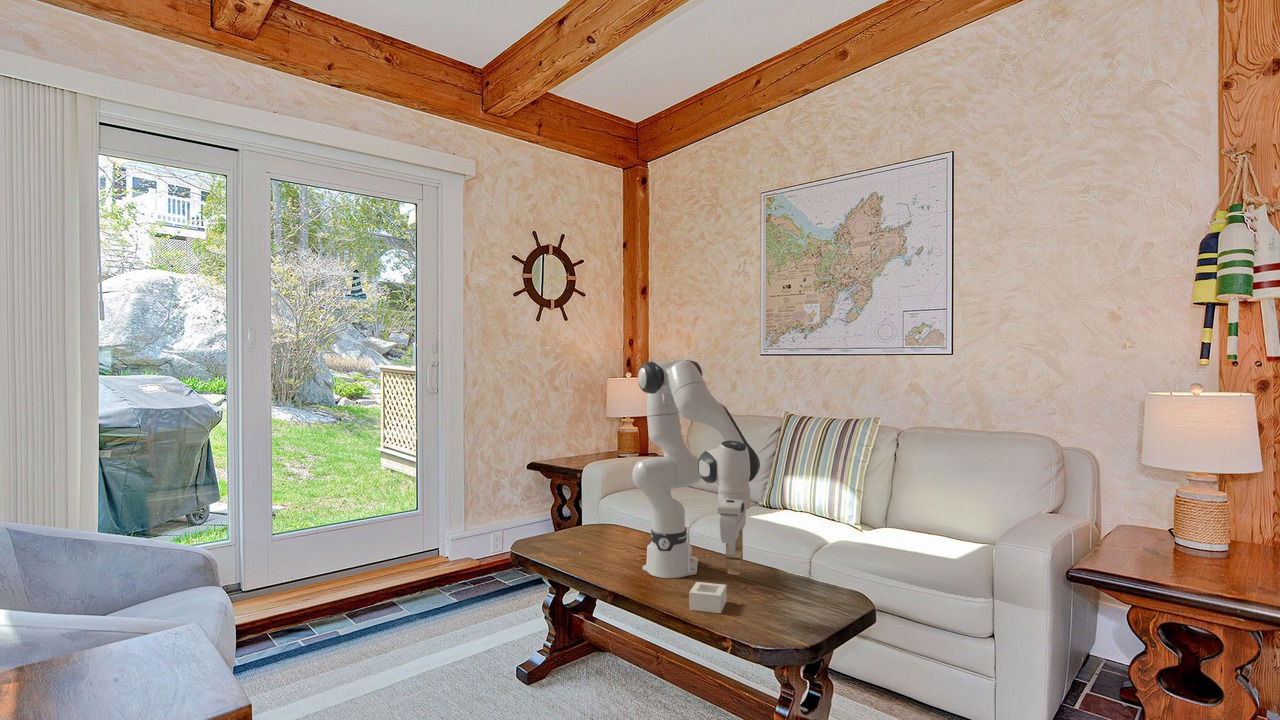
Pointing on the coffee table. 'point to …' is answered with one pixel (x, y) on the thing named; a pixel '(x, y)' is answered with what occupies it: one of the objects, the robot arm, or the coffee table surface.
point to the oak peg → (735, 556)
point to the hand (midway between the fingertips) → (734, 550)
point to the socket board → (707, 597)
